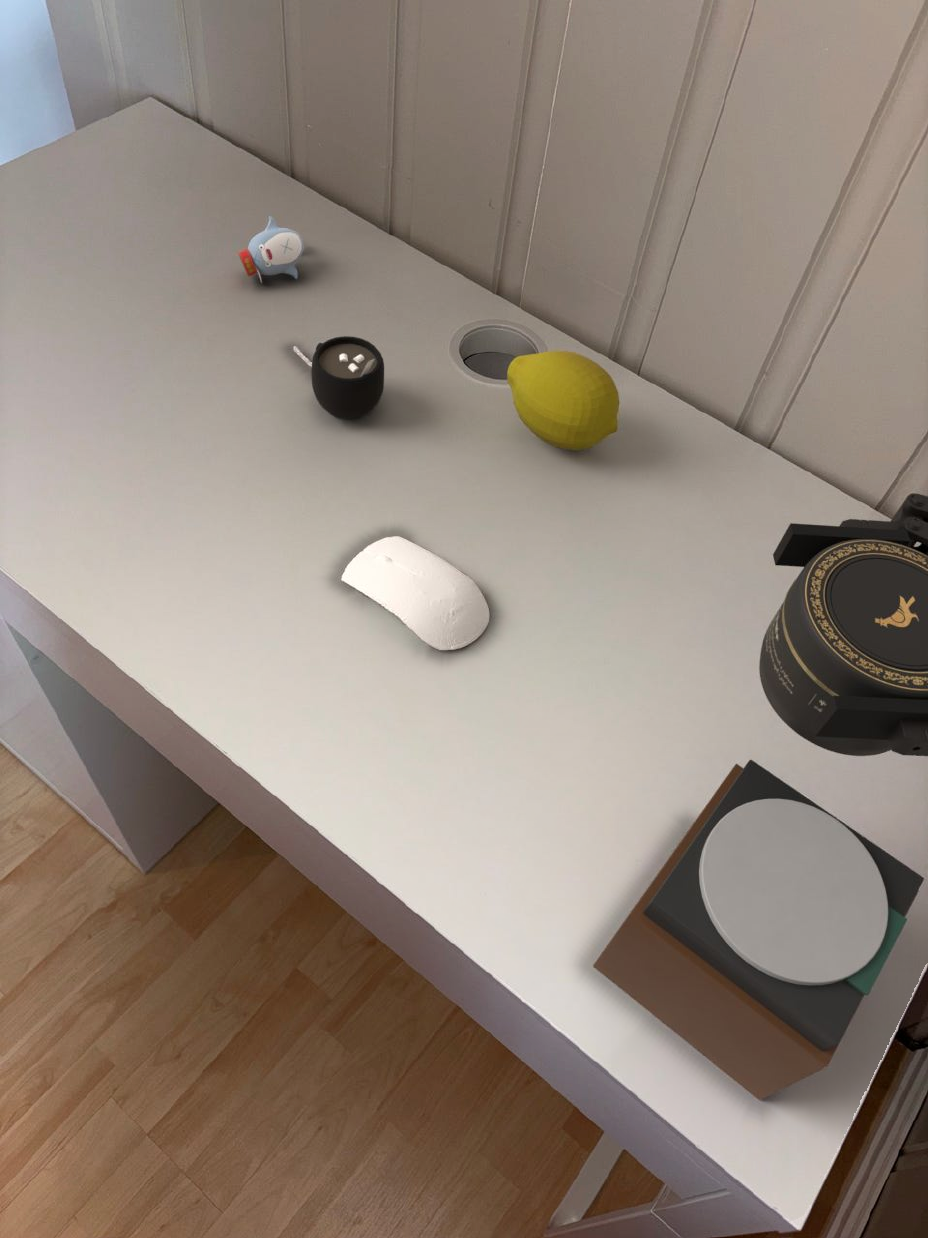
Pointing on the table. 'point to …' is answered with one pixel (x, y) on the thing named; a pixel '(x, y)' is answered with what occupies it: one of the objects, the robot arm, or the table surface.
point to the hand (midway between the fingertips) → (802, 625)
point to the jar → (849, 636)
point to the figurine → (273, 251)
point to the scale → (762, 931)
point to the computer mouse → (420, 592)
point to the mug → (347, 376)
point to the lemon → (564, 398)
